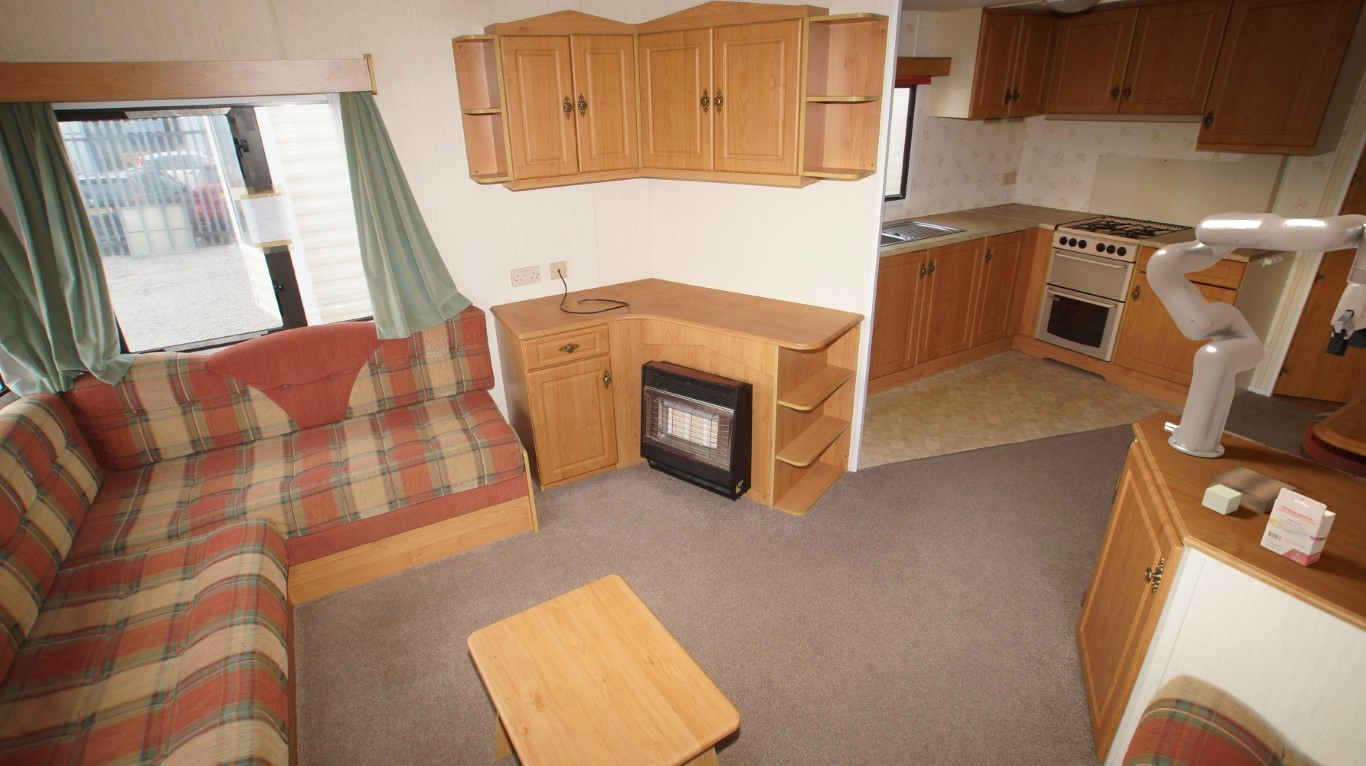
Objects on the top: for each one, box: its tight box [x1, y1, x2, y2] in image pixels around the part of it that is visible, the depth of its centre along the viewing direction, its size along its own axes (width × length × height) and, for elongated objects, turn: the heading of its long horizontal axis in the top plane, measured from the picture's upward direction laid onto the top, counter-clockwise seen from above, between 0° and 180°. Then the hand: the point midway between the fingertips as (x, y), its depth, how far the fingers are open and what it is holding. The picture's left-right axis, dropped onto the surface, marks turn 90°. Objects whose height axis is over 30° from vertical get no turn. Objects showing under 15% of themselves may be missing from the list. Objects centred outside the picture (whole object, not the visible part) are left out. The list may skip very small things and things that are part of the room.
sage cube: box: [1201, 484, 1242, 516], centre depth 158 cm, size 5×5×4 cm
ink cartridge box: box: [1260, 488, 1336, 567], centre depth 139 cm, size 9×5×15 cm, turn 22°
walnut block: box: [1208, 466, 1298, 514], centre depth 162 cm, size 12×12×4 cm
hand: (1345, 350), depth 151 cm, fingers open, 9 cm apart
